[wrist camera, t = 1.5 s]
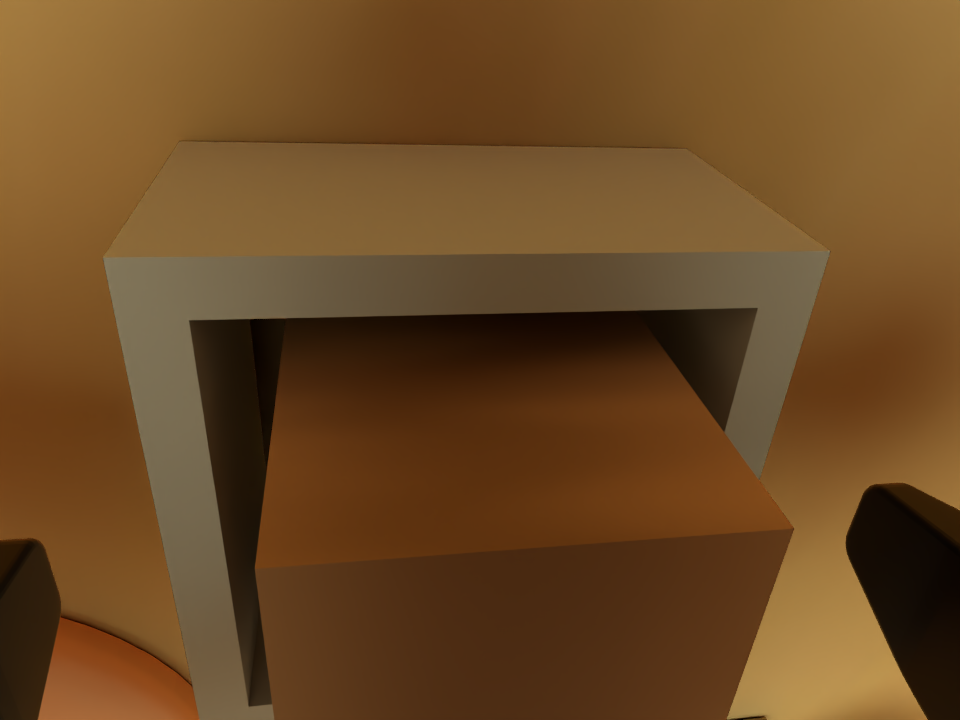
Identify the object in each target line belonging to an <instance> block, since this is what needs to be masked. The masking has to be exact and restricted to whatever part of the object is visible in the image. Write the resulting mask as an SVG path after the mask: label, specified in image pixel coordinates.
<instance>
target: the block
mask: <svg viewBox="0 0 960 720" xmlns="http://www.w3.org/2000/svg"><path fill="white" fill-rule="evenodd" d="M793 530H794V528H793V526H792V525H791V524H790V522H789V521H788V520H787V518H786V517H785V515H784V514H783V513H782V511H781V510H780V508H779V507H778V506H777V504H776V503H775V502H774V500H773V499H772V497H771V496H770V495H769V493H768V492H767V491H766V489H765V488H764V486H763V485H762V484H761V482H760V481H759V480H758V478H757V477H756V475H755V474H754V473H753V471H752V470H751V469H750V467H749V466H748V464H747V463H746V462H745V460H744V459H743V458H742V456H741V455H740V453H739V452H738V451H737V449H736V448H735V447H734V445H733V444H732V442H731V441H730V440H729V438H728V437H727V436H726V434H725V433H724V431H723V430H722V429H721V427H720V426H719V425H718V423H717V422H716V420H715V419H714V418H713V416H712V415H711V414H710V412H709V411H708V409H707V408H706V407H705V405H704V404H703V403H702V401H701V400H700V398H699V397H698V396H697V394H696V393H695V392H694V390H693V389H692V387H691V386H690V385H689V383H688V382H687V381H686V379H685V378H684V376H683V375H682V374H681V372H680V371H679V370H678V368H677V367H676V365H675V364H674V363H673V361H672V360H671V359H670V357H669V356H668V354H667V353H666V352H665V350H664V349H663V348H662V346H661V345H660V343H659V342H658V341H657V339H656V338H655V336H654V335H653V334H652V332H651V331H650V330H649V328H648V327H647V325H646V324H645V323H644V321H643V320H642V319H641V317H640V316H639V314H638V313H637V312H636V311H591V312H545V313H499V314H454V315H408V316H363V317H317V318H286V321H285V329H284V337H283V345H282V353H281V361H280V369H279V377H278V385H277V393H276V401H275V409H274V418H273V426H272V434H271V442H270V450H269V458H268V466H267V474H266V482H265V490H264V498H263V506H262V514H261V523H260V531H259V539H258V547H257V555H256V563H255V575H256V582H257V590H258V598H259V606H260V613H261V621H262V629H263V637H264V644H265V652H266V660H267V668H268V675H269V683H270V691H271V699H272V706H273V714H274V720H726V719H727V716H728V713H729V711H730V708H731V705H732V702H733V699H734V696H735V694H736V691H737V688H738V685H739V682H740V680H741V677H742V674H743V671H744V668H745V665H746V663H747V660H748V657H749V654H750V651H751V649H752V646H753V643H754V640H755V637H756V635H757V632H758V629H759V626H760V623H761V620H762V618H763V615H764V612H765V609H766V606H767V604H768V601H769V598H770V595H771V592H772V589H773V587H774V584H775V581H776V578H777V575H778V573H779V570H780V567H781V564H782V561H783V559H784V556H785V553H786V550H787V547H788V544H789V542H790V539H791V536H792V533H793Z"/></svg>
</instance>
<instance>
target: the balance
mask: <svg viewBox="0 0 960 720" xmlns="http://www.w3.org/2000/svg"><path fill="white" fill-rule="evenodd" d="M745 720H767V719H766V718H765V717H762V718H754V719H745Z"/></svg>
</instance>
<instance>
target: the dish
mask: <svg viewBox="0 0 960 720" xmlns="http://www.w3.org/2000/svg"><path fill="white" fill-rule="evenodd" d="M38 720H199V715H198V710H197V706H196V701H195V696H194V691H193V687H192V686H191V685H190V684H189V683H188V682H186V681H185V680H184V679H183V678H182V677H181V676H180V675H179V674H178V673H176V672H175V671H173V670H172V669H170V668H169V667H168V666H166V665H165V664H163V663H162V662H160V661H159V660H157V659H156V658H155V657H153V656H151V655H150V654H148V653H146V652H144V651H142V650H140V649H138V648H136V647H135V646H133V645H131V644H129V643H127V642H125V641H123V640H121V639H119V638H116V637H114V636H112V635H109V634H107V633H104V632H102V631H99V630H97V629H94V628H92V627H90V626H87V625H84V624H81V623H77V622H74V621H71V620H68V619H64V618H61V617H60V622H59V626H58V631H57V636H56V640H55V645H54V649H53V654H52V658H51V663H50V667H49V672H48V676H47V681H46V685H45V690H44V695H43V699H42V704H41V708H40V713H39V717H38Z"/></svg>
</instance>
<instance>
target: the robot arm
mask: <svg viewBox="0 0 960 720" xmlns="http://www.w3.org/2000/svg"><path fill="white" fill-rule="evenodd" d="M846 550H847V555H848V557H849V560H850V562H851V564H852V567H853V569H854V571H855V573H856V575H857V577H858V580H859V582H860V584H861V586H862V588H863V591H864V593H865V595H866V597H867V599H868V602H869V604H870V606H871V608H872V610H873V613H874V615H875V617H876V619H877V621H878V623H879V626H880V628H881V630H882V632H883V634H884V637H885V639H886V641H887V643H888V645H889V648H890V650H891V652H892V654H893V656H894V658H895V660H896V662H897V664H898V666H899V668H900V671H901V673H902V675H903V677H904V678H905V680H906V682H907V684H908V686H909V688H910V689H911V691H912V693H913V695H914V697H915V698H916V700H917V702H918V704H919V705H920V707H921V709H922V711H923V712H924V714H925V716H926V718H927V719H928V720H960V510H958V509H956V508H954V507H952V506H950V505H948V504H946V503H944V502H942V501H940V500H938V499H936V498H934V497H932V496H930V495H928V494H926V493H924V492H922V491H920V490H918V489H916V488H914V487H913V486H910V485H908V484H904V483H889V484H875V485H872V486H870V487H869V488H868V489H866V490H865V492H864V493H863V495H862V498H861V500H860V503H859V505H858V508H857V510H856V513H855V515H854V517H853V520H852V522H851V525H850V527H849V530H848V532H847V536H846ZM60 615H61V600H60V595H59V591H58V588H57V585H56V582H55V579H54V575H53V572H52V569H51V566H50V563H49V560H48V557H47V553H46V550H45V548H44V546H43V544H42V543H41V542H40V541H39V540H37V539H33V538H27V539H12V540H0V720H38V717H39V713H40V708H41V704H42V699H43V695H44V690H45V685H46V681H47V676H48V672H49V667H50V663H51V658H52V654H53V649H54V645H55V640H56V636H57V631H58V626H59V622H60Z"/></svg>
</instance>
